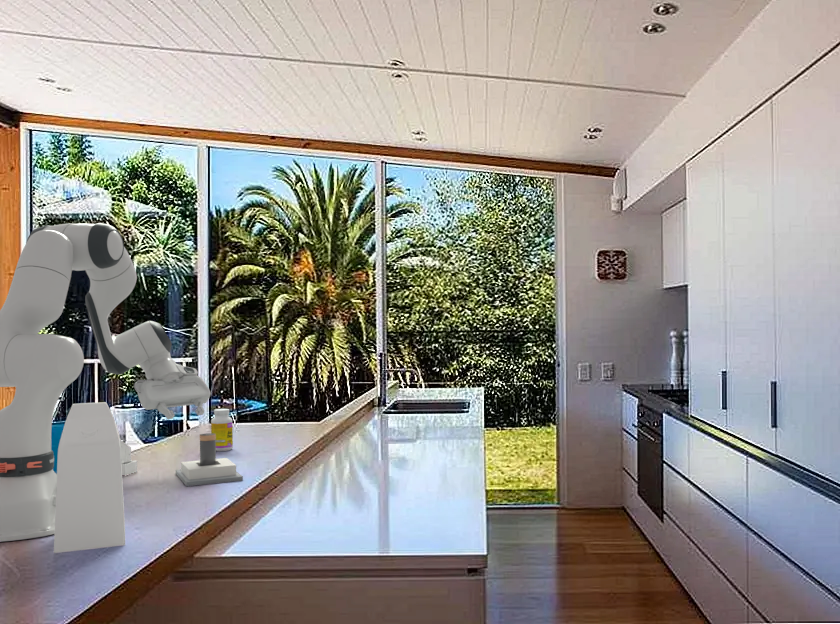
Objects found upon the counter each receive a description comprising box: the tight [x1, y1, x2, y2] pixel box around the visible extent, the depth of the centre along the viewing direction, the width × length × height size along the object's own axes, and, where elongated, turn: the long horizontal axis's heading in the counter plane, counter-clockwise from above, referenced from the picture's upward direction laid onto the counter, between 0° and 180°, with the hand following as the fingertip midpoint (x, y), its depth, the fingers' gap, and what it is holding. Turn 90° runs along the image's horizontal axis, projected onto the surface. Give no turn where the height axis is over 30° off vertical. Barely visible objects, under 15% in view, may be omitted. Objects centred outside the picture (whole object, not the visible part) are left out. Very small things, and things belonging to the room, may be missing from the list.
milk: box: [53, 401, 126, 554], centre depth 146 cm, size 12×12×26 cm
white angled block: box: [120, 439, 138, 475], centre depth 209 cm, size 4×10×9 cm, turn 168°
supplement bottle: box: [210, 408, 234, 452], centre depth 246 cm, size 7×7×13 cm
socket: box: [175, 457, 244, 487], centre depth 204 cm, size 18×14×4 cm
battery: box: [199, 432, 217, 466], centre depth 203 cm, size 4×4×10 cm
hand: (186, 415), depth 210 cm, fingers open, 8 cm apart
